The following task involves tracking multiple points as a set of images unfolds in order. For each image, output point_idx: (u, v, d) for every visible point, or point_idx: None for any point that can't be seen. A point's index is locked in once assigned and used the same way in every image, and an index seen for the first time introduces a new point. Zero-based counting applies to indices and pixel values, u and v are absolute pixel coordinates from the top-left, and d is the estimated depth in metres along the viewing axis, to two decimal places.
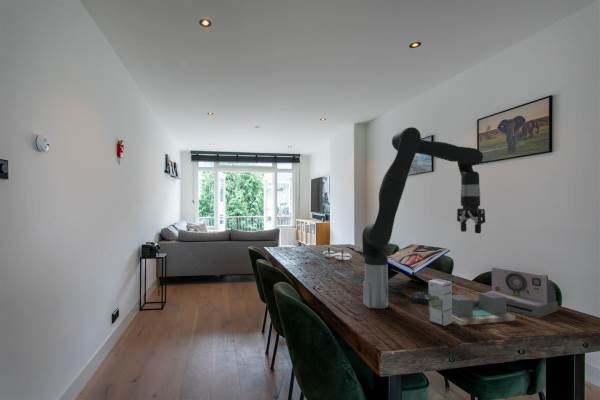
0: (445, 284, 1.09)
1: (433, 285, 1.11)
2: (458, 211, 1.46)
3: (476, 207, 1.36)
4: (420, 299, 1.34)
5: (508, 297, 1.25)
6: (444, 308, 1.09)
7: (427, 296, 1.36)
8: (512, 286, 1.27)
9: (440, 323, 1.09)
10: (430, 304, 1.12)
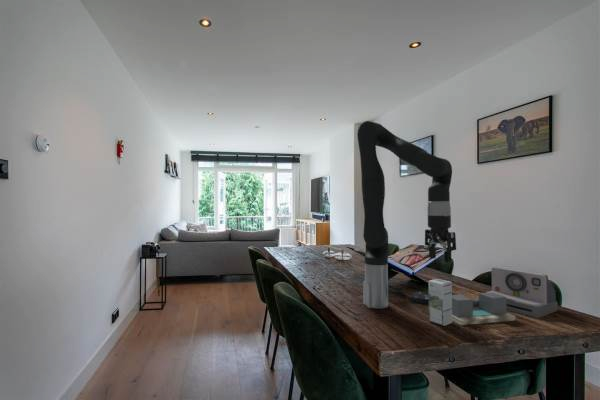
0: (445, 284, 1.09)
1: (433, 285, 1.11)
2: (426, 233, 1.18)
3: (445, 230, 1.09)
4: (420, 299, 1.34)
5: (508, 297, 1.25)
6: (444, 308, 1.09)
7: (427, 296, 1.36)
8: (512, 286, 1.27)
9: (440, 323, 1.09)
10: (430, 304, 1.12)
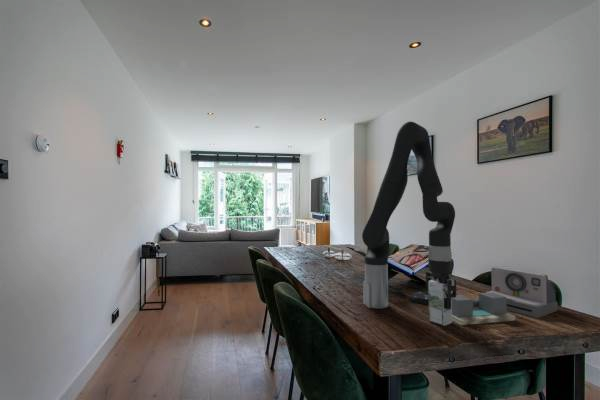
0: (445, 284, 1.09)
1: (433, 285, 1.11)
2: (427, 275, 1.18)
3: (446, 275, 1.09)
4: (419, 299, 1.34)
5: (508, 297, 1.25)
6: (444, 308, 1.09)
7: (427, 296, 1.36)
8: (512, 286, 1.27)
9: (440, 323, 1.09)
10: (430, 304, 1.12)
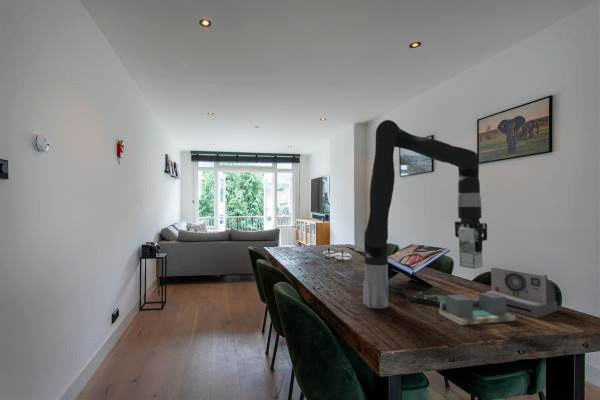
0: (475, 229, 1.14)
1: (463, 231, 1.16)
2: (456, 225, 1.22)
3: (477, 220, 1.13)
4: (419, 299, 1.34)
5: (507, 297, 1.25)
6: None
7: (427, 296, 1.36)
8: (511, 286, 1.27)
9: (471, 266, 1.14)
10: (461, 250, 1.17)
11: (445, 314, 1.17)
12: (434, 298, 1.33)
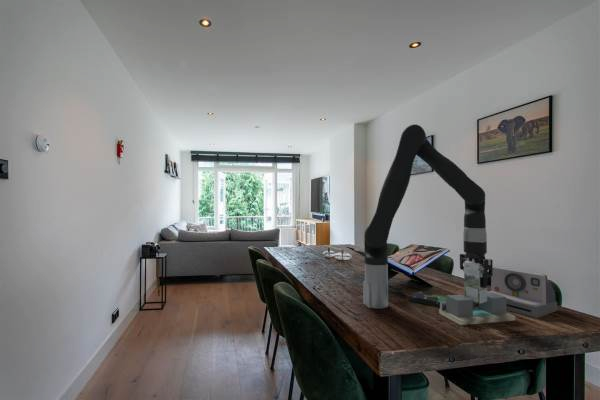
0: (481, 264, 1.15)
1: (468, 265, 1.17)
2: (460, 257, 1.23)
3: (482, 255, 1.14)
4: (418, 299, 1.34)
5: (507, 297, 1.25)
6: (480, 287, 1.14)
7: (426, 296, 1.36)
8: (511, 286, 1.27)
9: (476, 301, 1.15)
10: (466, 284, 1.18)
11: (445, 314, 1.17)
12: (434, 298, 1.33)
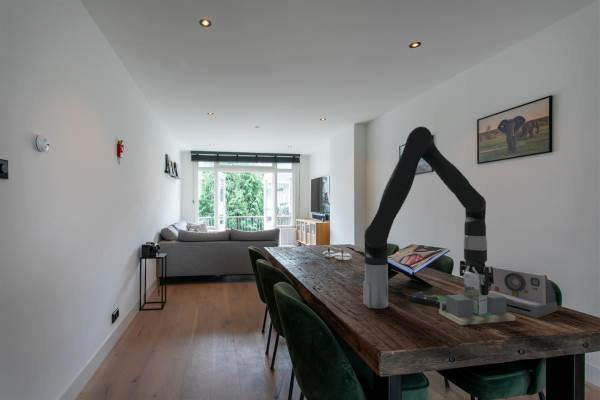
0: (481, 275, 1.15)
1: (469, 276, 1.17)
2: (461, 264, 1.23)
3: (482, 263, 1.14)
4: (418, 299, 1.34)
5: (507, 297, 1.25)
6: (480, 298, 1.14)
7: (426, 296, 1.36)
8: (511, 286, 1.27)
9: (476, 312, 1.14)
10: (466, 294, 1.18)
11: (445, 314, 1.17)
12: (433, 298, 1.33)
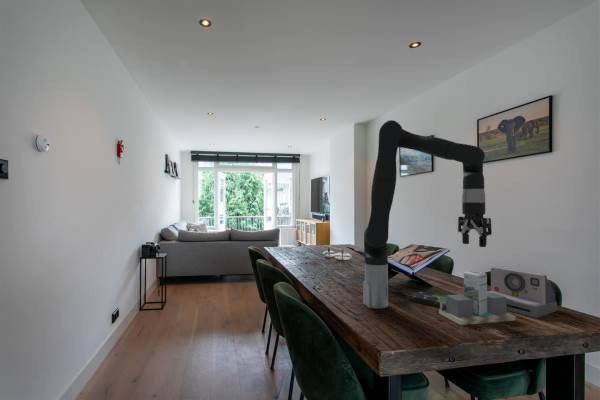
0: (480, 275, 1.14)
1: (468, 276, 1.17)
2: (459, 220, 1.24)
3: (481, 216, 1.14)
4: (417, 298, 1.34)
5: (506, 297, 1.25)
6: (480, 298, 1.14)
7: (426, 296, 1.36)
8: (511, 286, 1.27)
9: (476, 313, 1.14)
10: (465, 295, 1.18)
11: (445, 314, 1.17)
12: (433, 298, 1.33)
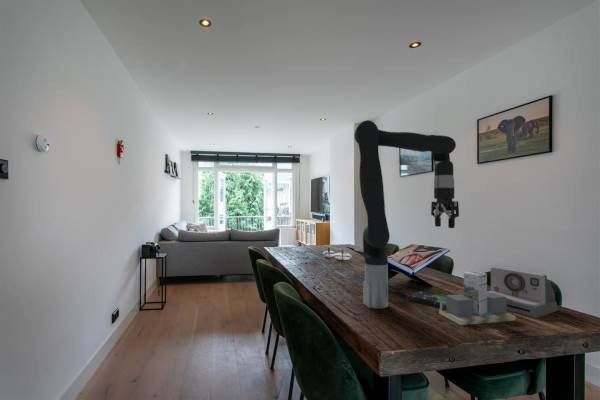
0: (480, 275, 1.14)
1: (468, 276, 1.17)
2: (432, 204, 1.35)
3: (450, 200, 1.25)
4: (417, 298, 1.35)
5: (506, 297, 1.25)
6: (480, 298, 1.14)
7: (426, 296, 1.36)
8: (510, 286, 1.27)
9: (476, 313, 1.14)
10: (465, 295, 1.18)
11: (445, 314, 1.17)
12: (433, 298, 1.33)
